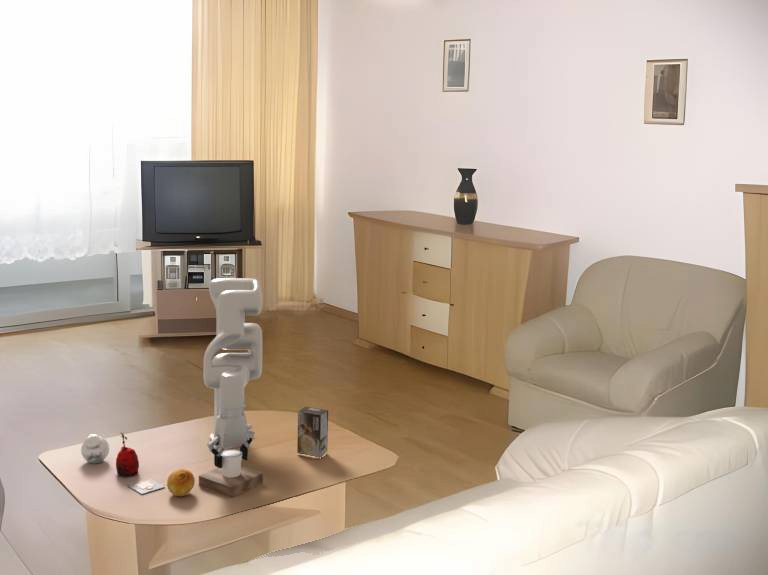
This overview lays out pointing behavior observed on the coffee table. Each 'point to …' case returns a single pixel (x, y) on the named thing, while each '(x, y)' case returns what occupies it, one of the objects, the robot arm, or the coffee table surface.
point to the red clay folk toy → (127, 461)
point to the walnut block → (230, 481)
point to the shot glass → (231, 463)
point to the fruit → (180, 482)
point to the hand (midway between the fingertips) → (231, 462)
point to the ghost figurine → (95, 448)
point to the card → (146, 486)
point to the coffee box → (312, 431)
